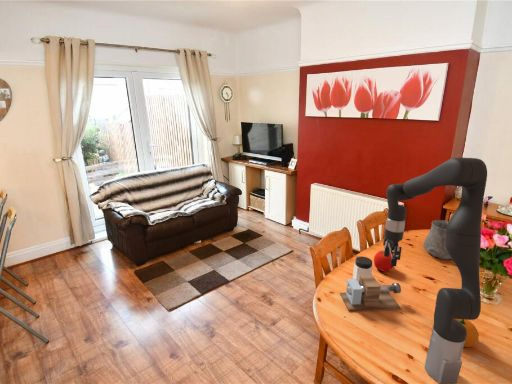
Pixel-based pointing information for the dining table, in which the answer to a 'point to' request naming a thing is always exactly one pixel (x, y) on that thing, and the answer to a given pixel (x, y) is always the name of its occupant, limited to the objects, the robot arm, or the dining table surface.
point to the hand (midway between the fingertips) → (389, 261)
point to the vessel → (437, 240)
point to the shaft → (383, 288)
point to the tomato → (382, 261)
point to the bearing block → (371, 297)
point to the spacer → (354, 291)
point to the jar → (362, 267)
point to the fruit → (469, 333)
